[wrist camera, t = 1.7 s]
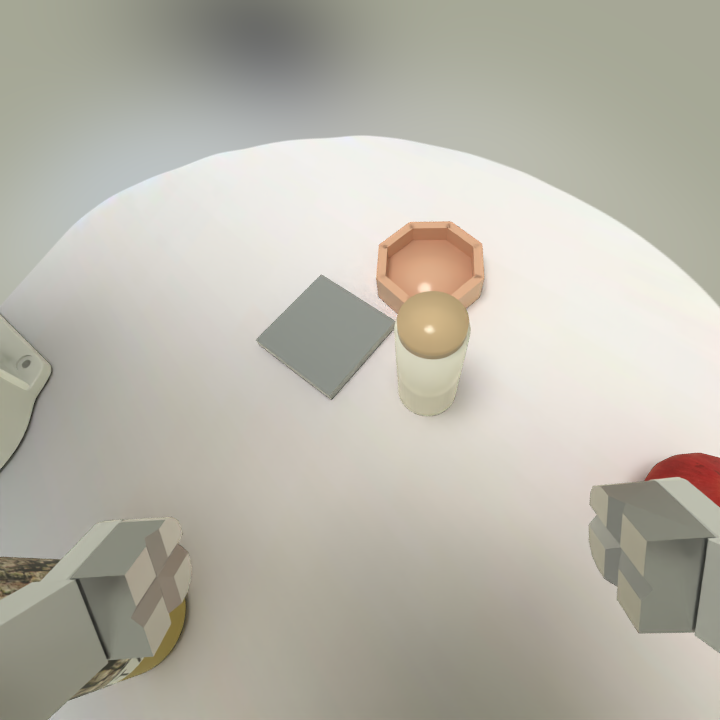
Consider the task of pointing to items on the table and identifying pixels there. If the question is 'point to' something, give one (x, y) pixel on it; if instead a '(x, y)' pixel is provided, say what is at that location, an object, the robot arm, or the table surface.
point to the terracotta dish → (429, 263)
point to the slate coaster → (326, 335)
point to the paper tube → (18, 572)
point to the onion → (692, 472)
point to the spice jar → (430, 351)
